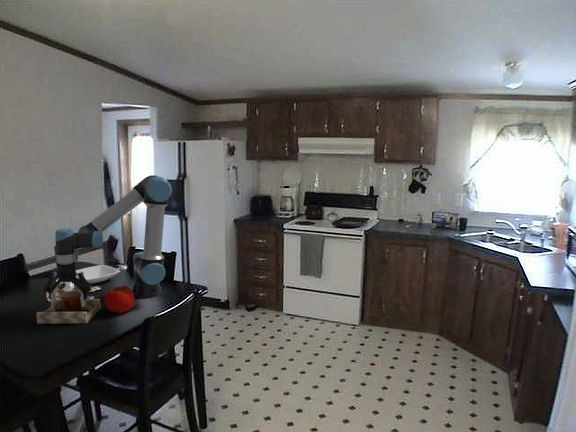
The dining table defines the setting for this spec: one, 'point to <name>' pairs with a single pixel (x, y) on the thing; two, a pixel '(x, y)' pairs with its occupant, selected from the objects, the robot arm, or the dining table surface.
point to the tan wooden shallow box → (69, 313)
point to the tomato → (119, 299)
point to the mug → (71, 301)
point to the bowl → (97, 273)
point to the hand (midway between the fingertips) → (68, 306)
